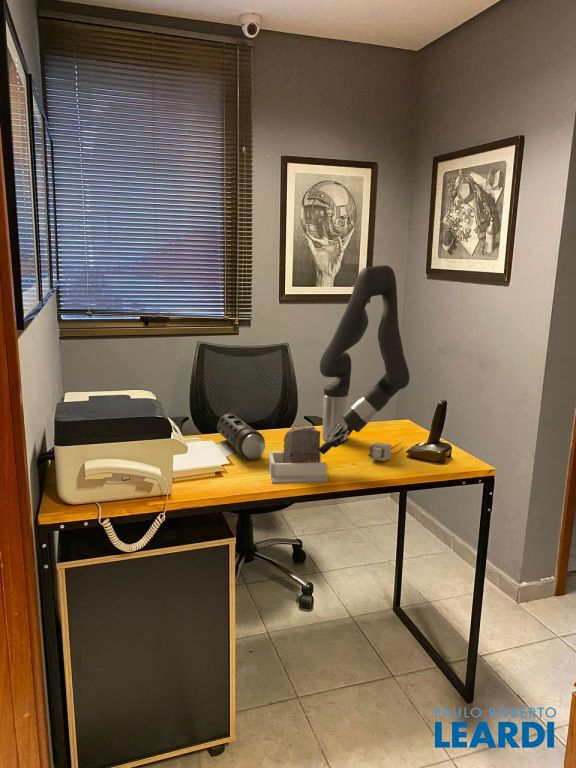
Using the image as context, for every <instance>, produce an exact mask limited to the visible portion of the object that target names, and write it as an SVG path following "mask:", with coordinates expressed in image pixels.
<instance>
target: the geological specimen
mask: <svg viewBox="0 0 576 768" xmlns="http://www.w3.org/2000/svg"><path fill="white" fill-rule="evenodd" d="M320 442H321V430H318V429H316V427H315V426H308V425H307V426H297V427H292V428H290V429H289V430H288V431H286V433H285V435H284V439H283V452H284V453H283V463H318V462H319V455H320V451H319V449H320V447H321V443H320Z"/></svg>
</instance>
